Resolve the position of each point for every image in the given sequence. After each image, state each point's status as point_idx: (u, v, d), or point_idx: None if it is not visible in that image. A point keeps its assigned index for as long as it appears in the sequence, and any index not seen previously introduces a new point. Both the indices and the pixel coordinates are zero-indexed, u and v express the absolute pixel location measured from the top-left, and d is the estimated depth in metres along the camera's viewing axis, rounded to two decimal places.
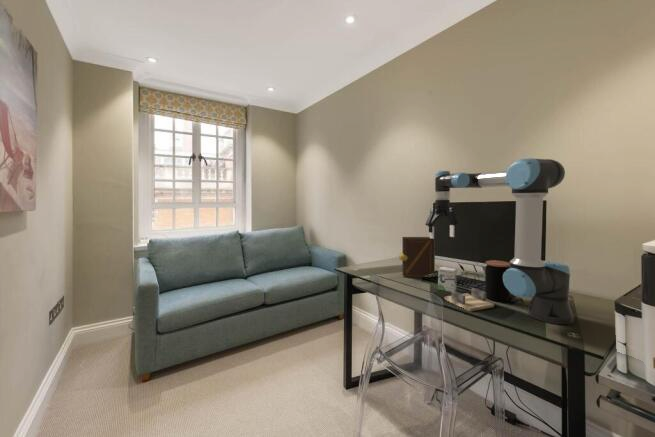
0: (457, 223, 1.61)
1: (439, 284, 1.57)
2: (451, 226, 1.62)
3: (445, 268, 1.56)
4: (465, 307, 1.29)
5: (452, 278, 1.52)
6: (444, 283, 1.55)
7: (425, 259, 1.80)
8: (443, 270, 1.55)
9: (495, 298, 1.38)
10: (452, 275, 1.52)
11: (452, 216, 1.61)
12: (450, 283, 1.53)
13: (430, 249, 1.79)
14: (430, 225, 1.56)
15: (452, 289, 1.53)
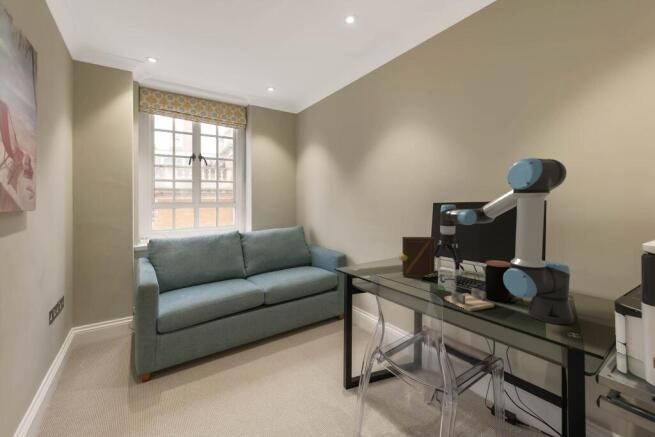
0: (458, 262, 1.47)
1: (439, 284, 1.57)
2: None
3: (445, 268, 1.56)
4: (465, 307, 1.29)
5: (452, 278, 1.52)
6: (444, 283, 1.55)
7: (425, 259, 1.80)
8: (443, 270, 1.55)
9: (495, 298, 1.38)
10: (452, 275, 1.52)
11: None
12: (450, 283, 1.53)
13: (430, 249, 1.79)
14: None
15: (452, 289, 1.53)
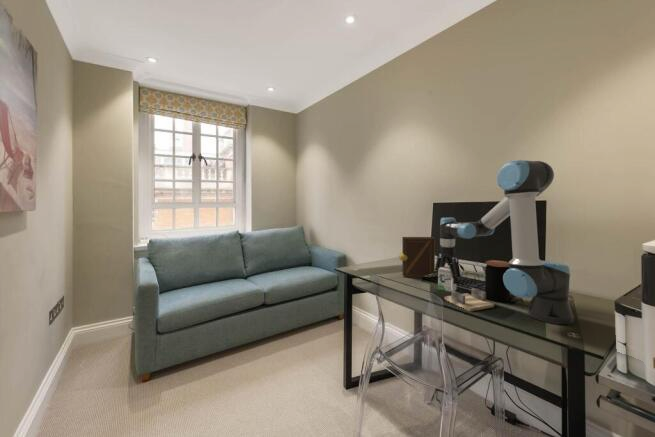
0: (455, 276, 1.49)
1: (439, 284, 1.57)
2: None
3: (445, 268, 1.56)
4: (465, 307, 1.29)
5: None
6: (444, 283, 1.55)
7: (425, 259, 1.80)
8: (443, 270, 1.55)
9: (495, 298, 1.38)
10: None
11: None
12: (450, 283, 1.53)
13: (430, 249, 1.79)
14: (437, 271, 1.62)
15: None
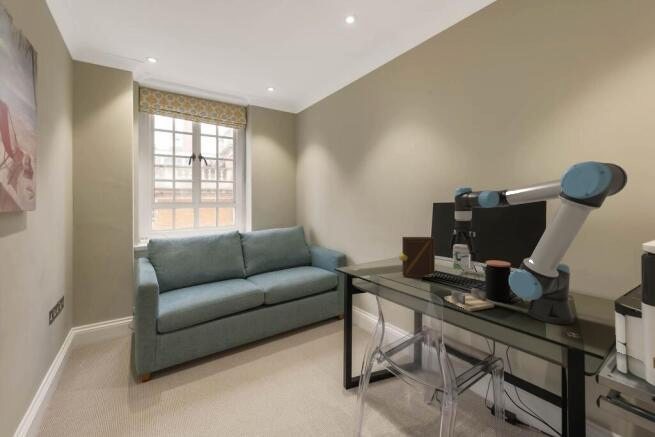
0: (473, 252, 1.32)
1: (454, 263, 1.41)
2: None
3: (461, 245, 1.40)
4: (465, 307, 1.29)
5: None
6: (461, 261, 1.39)
7: (425, 259, 1.80)
8: (459, 247, 1.39)
9: (495, 298, 1.38)
10: None
11: None
12: (468, 260, 1.37)
13: (430, 249, 1.79)
14: (452, 249, 1.46)
15: None
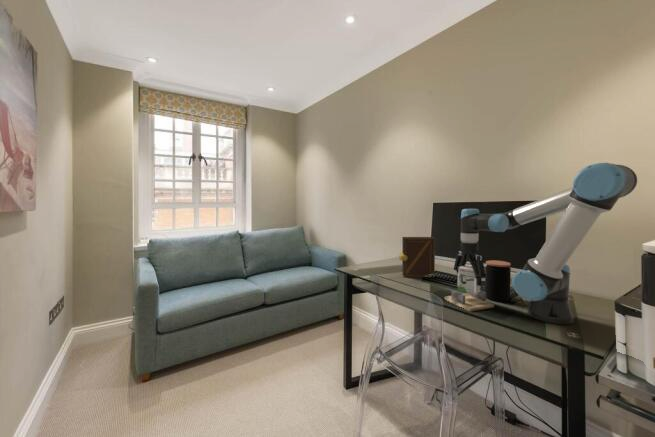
0: (480, 277, 1.28)
1: (459, 285, 1.36)
2: None
3: (466, 267, 1.36)
4: (465, 307, 1.29)
5: None
6: (466, 284, 1.34)
7: (425, 259, 1.80)
8: (464, 270, 1.34)
9: (495, 298, 1.38)
10: None
11: None
12: (473, 284, 1.32)
13: (430, 249, 1.79)
14: (457, 270, 1.41)
15: None
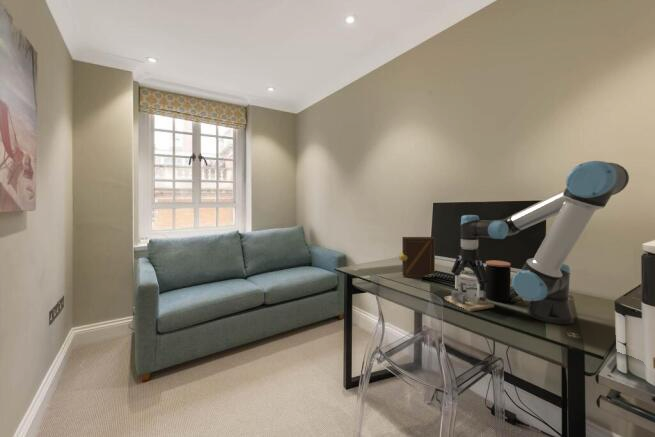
0: (483, 282, 1.26)
1: None
2: None
3: (466, 275, 1.36)
4: (465, 307, 1.29)
5: (475, 287, 1.32)
6: (466, 292, 1.34)
7: (425, 259, 1.80)
8: (464, 278, 1.34)
9: (495, 298, 1.38)
10: (475, 284, 1.31)
11: None
12: (473, 293, 1.32)
13: (430, 249, 1.79)
14: None
15: (475, 300, 1.32)
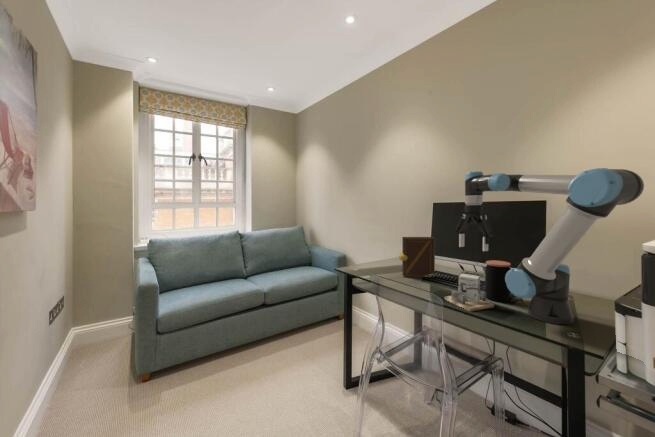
0: (488, 235, 1.28)
1: None
2: None
3: (466, 275, 1.36)
4: (465, 307, 1.29)
5: (475, 287, 1.32)
6: (466, 292, 1.34)
7: (425, 259, 1.80)
8: (464, 278, 1.34)
9: (495, 298, 1.38)
10: (475, 284, 1.31)
11: None
12: (473, 293, 1.32)
13: (430, 249, 1.79)
14: None
15: (475, 300, 1.32)
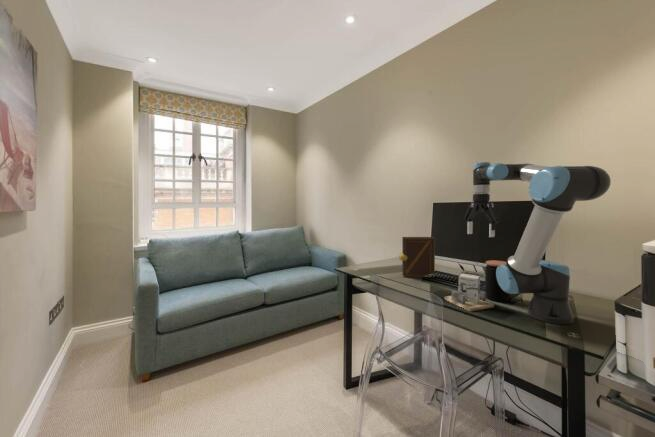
0: (494, 221, 1.37)
1: None
2: None
3: (466, 275, 1.36)
4: (465, 307, 1.29)
5: (475, 287, 1.32)
6: (466, 292, 1.34)
7: (425, 259, 1.80)
8: (464, 278, 1.34)
9: (495, 298, 1.38)
10: (475, 284, 1.31)
11: None
12: (473, 293, 1.32)
13: (430, 249, 1.79)
14: None
15: (475, 300, 1.32)
